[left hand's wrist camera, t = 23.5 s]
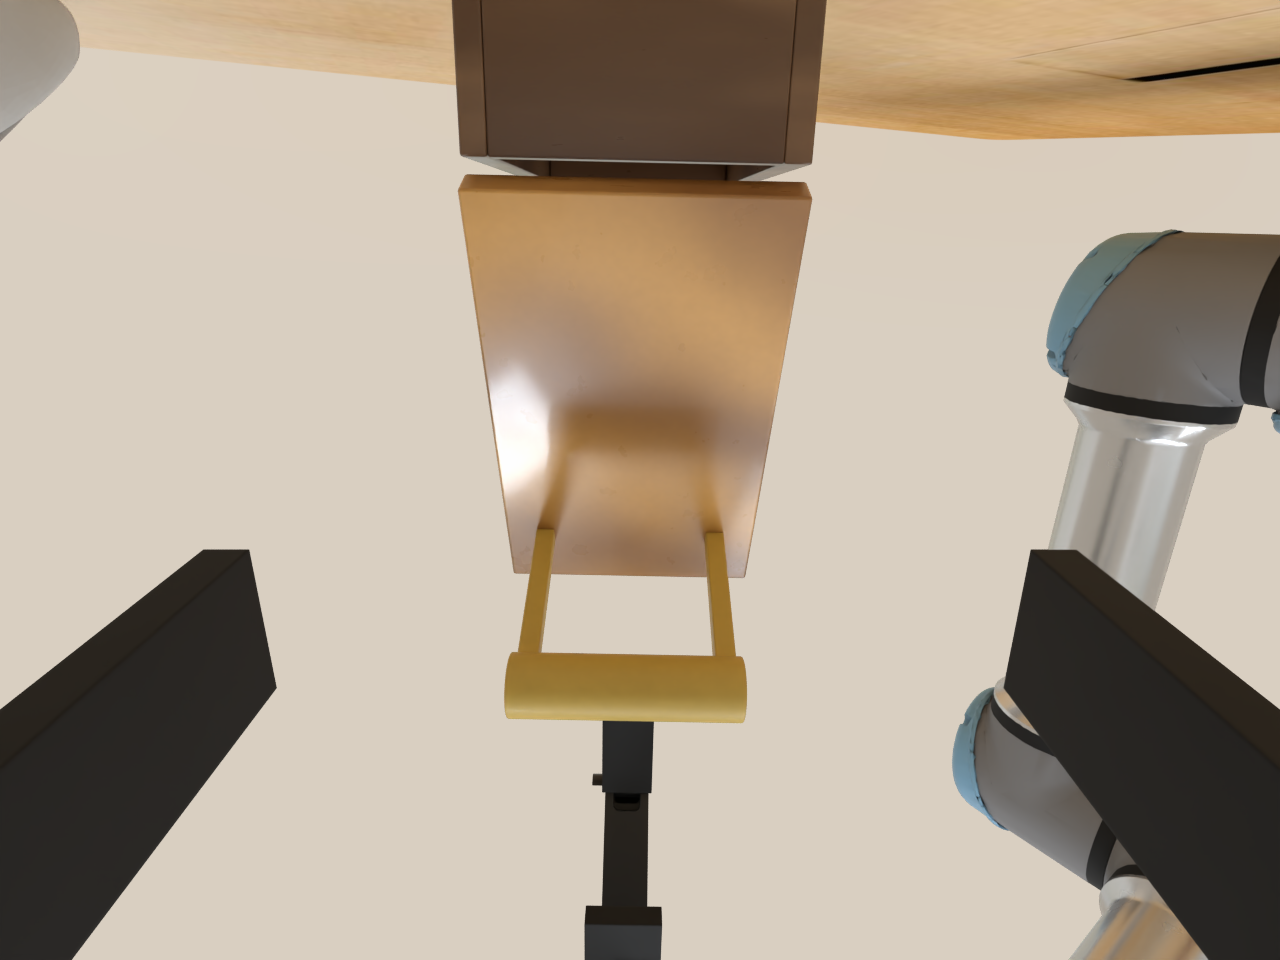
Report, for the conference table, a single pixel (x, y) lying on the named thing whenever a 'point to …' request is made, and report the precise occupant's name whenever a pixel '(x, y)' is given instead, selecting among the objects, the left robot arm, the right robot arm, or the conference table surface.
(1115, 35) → the conference table surface
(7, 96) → the projector
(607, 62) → the chest
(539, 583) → the lid
